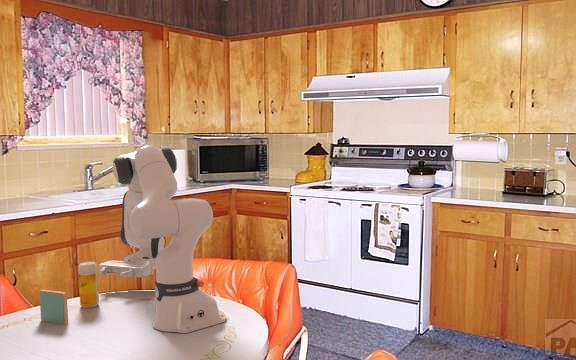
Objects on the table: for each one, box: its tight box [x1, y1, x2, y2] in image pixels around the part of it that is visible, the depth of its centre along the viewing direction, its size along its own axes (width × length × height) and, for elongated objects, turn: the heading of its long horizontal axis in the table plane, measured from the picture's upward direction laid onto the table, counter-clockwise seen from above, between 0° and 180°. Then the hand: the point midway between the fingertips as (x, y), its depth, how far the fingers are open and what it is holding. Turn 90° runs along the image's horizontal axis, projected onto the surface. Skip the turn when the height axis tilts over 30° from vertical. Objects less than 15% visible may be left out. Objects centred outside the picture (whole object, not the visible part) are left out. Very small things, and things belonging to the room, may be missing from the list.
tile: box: [38, 289, 69, 325], centre depth 173 cm, size 1×10×10 cm, turn 69°
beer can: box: [77, 261, 100, 309], centre depth 187 cm, size 6×6×15 cm
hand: (111, 274), depth 198 cm, fingers open, 8 cm apart
